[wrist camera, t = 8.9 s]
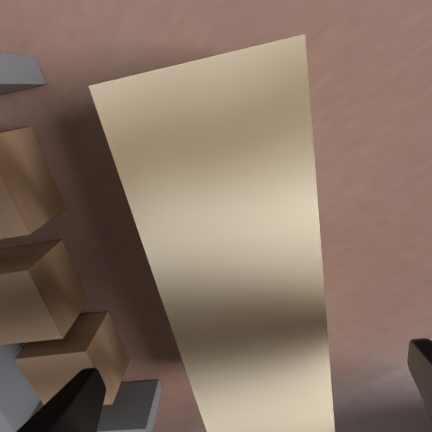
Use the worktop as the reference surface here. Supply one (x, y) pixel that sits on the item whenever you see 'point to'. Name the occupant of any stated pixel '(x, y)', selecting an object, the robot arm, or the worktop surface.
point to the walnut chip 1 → (25, 185)
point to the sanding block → (231, 228)
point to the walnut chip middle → (38, 292)
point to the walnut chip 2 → (76, 357)
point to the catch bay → (5, 354)
